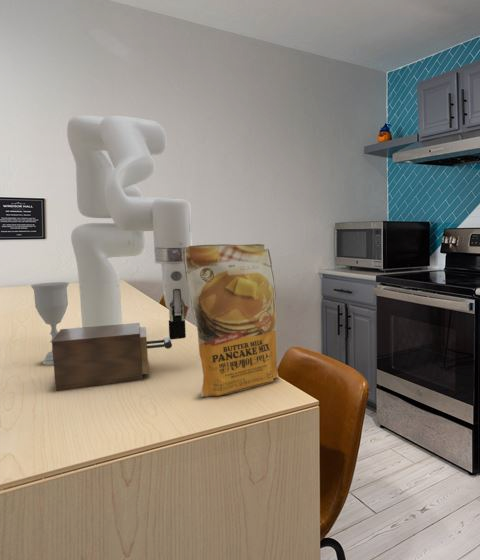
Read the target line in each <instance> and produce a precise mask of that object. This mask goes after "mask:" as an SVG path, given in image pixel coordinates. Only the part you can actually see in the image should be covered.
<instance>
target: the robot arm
mask: <svg viewBox="0 0 480 560" xmlns="http://www.w3.org/2000/svg"><path fill="white" fill-rule="evenodd" d="M167 136H168V135H167V133H166V131H165V129H164V127H163V126H162V124H160V123H159V122H158V121H156V120H154V119H153V120H152V119H149V118H148V119H147V118H141V117H134V116H127V115H119V114H118V115H117V114H116V115H115V114H114V115H110V116H109V115H108V116H102V115H94V114H93V115H92V114H77V115H74V116H72V117H70V119H69V120H68V122H67V125H66V139H67V143H68V145H69V146H68V147H69V149H70V151H71V154H72V157H73V159H74V163H75V178H76V179H75V181H76V203H77V208H78V212H79V213H80V214H81V215H82V216H83V217H86V218H91V219H112V222H87V223H82V224H79V225H76V226H75V227H74V228H73V229H72V231H71V235H70V240H71V245H72V249H73V252H74V255H75V261H76V269H77V278H78V286H79V287H78V289H79V301H80V313H81V315H80V317H81V326H82V327H94V326H106V325H119V324H123V316H122V315H123V312H122V296H121V283H120V274H119V270H118V269H117V268H116V266H114V264H112V263H111V261H110V260H109V259H112V258H125V257H127V258H128V257H136V256H139V255H141V254H142V253H143V251H144V249H145V245H146V232H153V248H154V249H153V250H154V263H155V264H159V265H161V281H162V293H163V299H164V303H165V307H166V309H168V315H169V320H168V334H169V335H168V337H169V338H170V339H171V340H181V339H185V338H186V337H187V334H186V331H187V330H186V319H185V307H187V308H188V309H191V308H192V306H191V299H190V292H189V285H188V281H187V278H186V273H185V265H184V255H183V250H184V249H186V248H187V247H189V246H193V225H192V205H191V203H190V201H188V200H187V199H184V198H172V197H153V196H144V195H143V193H142V191H141V190H140V188H139V187H137V186H136V184H139V183H142V182H144V181H146V180H148V179H149V178H150V177H152V176H153V174H154V173H155V171H156V163H155V160H154V159H153V156H158V155H162V154H163V153H164V152H165V151H166V149H167V146H168V137H167ZM105 152H106V153H107V154H108V155H107V154H106V153H105ZM82 327H81V328H82Z"/></svg>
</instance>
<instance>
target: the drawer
mask: <svg viewBox="0 0 480 560" xmlns="http://www.w3.org/2000/svg"><path fill="white" fill-rule="evenodd" d="M140 347H141V363H142V375H148V374H150V372H149V357H148V355H149V354H148V350H149V349H158V348H165V349H167V350H169V349H171V348H172V347H173V343H172V339H170V337H169V336H165V337H164V338H163V339H155V340H153V339H152V340H148V336H147V326H140Z"/></svg>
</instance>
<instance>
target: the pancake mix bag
mask: <svg viewBox="0 0 480 560" xmlns="http://www.w3.org/2000/svg"><path fill="white" fill-rule="evenodd" d="M269 249H270V248H265V244H261V243H255V244H254V243H252V244H230V243H229V244H228V243H227V244H226V243H225V244H224V243H223V244H222V243H221V244H220V243H219V244H218V243H217V244H197V245H192V246H189V247H187V248H186V249H184V250H183V255H184V265H185V273H186V278H187V281H188V285H189V292H190V299H191V311H192V314H193V318H194V322H195V326H196V330H197V340H198V341H197V342H198V352H199V357H200V361H201V366H202V375H203V376H202V386H201V392H200V398H203V397H219V396H221V397H222V396H226V395H228V394H234V393H238V392H242V391H245V390H249V389H253V388H257V387H261V386H265V385H269V384H271V383H273V382H274V380H275V379H277V378H280V375H279V372H278V367H277V366H278V365H277V363H278V362H277V361H278V337H277V330H278V329H277V327H278V326H277V324H278V323H277V321H278V319H277V317H278V315H277V292H276V284H275V277H274V271H273V265H272V257H271V254H270V253H271V252H270V250H269Z"/></svg>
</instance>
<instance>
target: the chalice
mask: <svg viewBox="0 0 480 560" xmlns="http://www.w3.org/2000/svg"><path fill="white" fill-rule="evenodd" d="M69 283H70V282H66V281H65V282H63V281H62V282H61V281H59V282H43V283H42V282H41V283H34V284H31V285H30V287H31V289H32V290H33V293H34V295H33V297H34V308H35V309H36V312H37V313H38V315H39V317H40V318H41V320H43V322H44V323H45V324H46V325H50V328H51V329H50V333H49V335H50V336H51V340H50V343H51V344H52V341H53V340H54V338H55V337H56V335H57V334H58V332H59V331H58V329H57V326H58V324H60V323H61V322H62V320H63V319H64V316H65V315H66V312H67V308H68V305H69V300H68V286H69ZM42 365H48V366H54V362H53V350H52V349H51V350H50V351H49V352H47V353H46V355H45V357H44V361H43V362H42Z"/></svg>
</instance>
